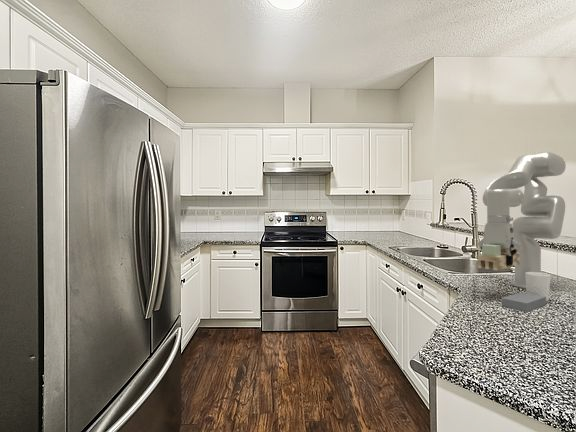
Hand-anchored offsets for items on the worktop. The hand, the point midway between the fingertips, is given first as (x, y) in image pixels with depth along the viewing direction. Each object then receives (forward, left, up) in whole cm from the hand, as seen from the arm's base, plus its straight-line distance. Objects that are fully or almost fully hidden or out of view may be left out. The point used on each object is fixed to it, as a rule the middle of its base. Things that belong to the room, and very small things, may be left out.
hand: (498, 263), depth 130 cm
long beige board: (0, 0, -1) cm, 1 cm away
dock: (+5, +11, -13) cm, 18 cm away
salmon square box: (-6, 0, +4) cm, 7 cm away
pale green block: (+6, 0, +4) cm, 7 cm away
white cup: (-9, +10, -14) cm, 19 cm away
